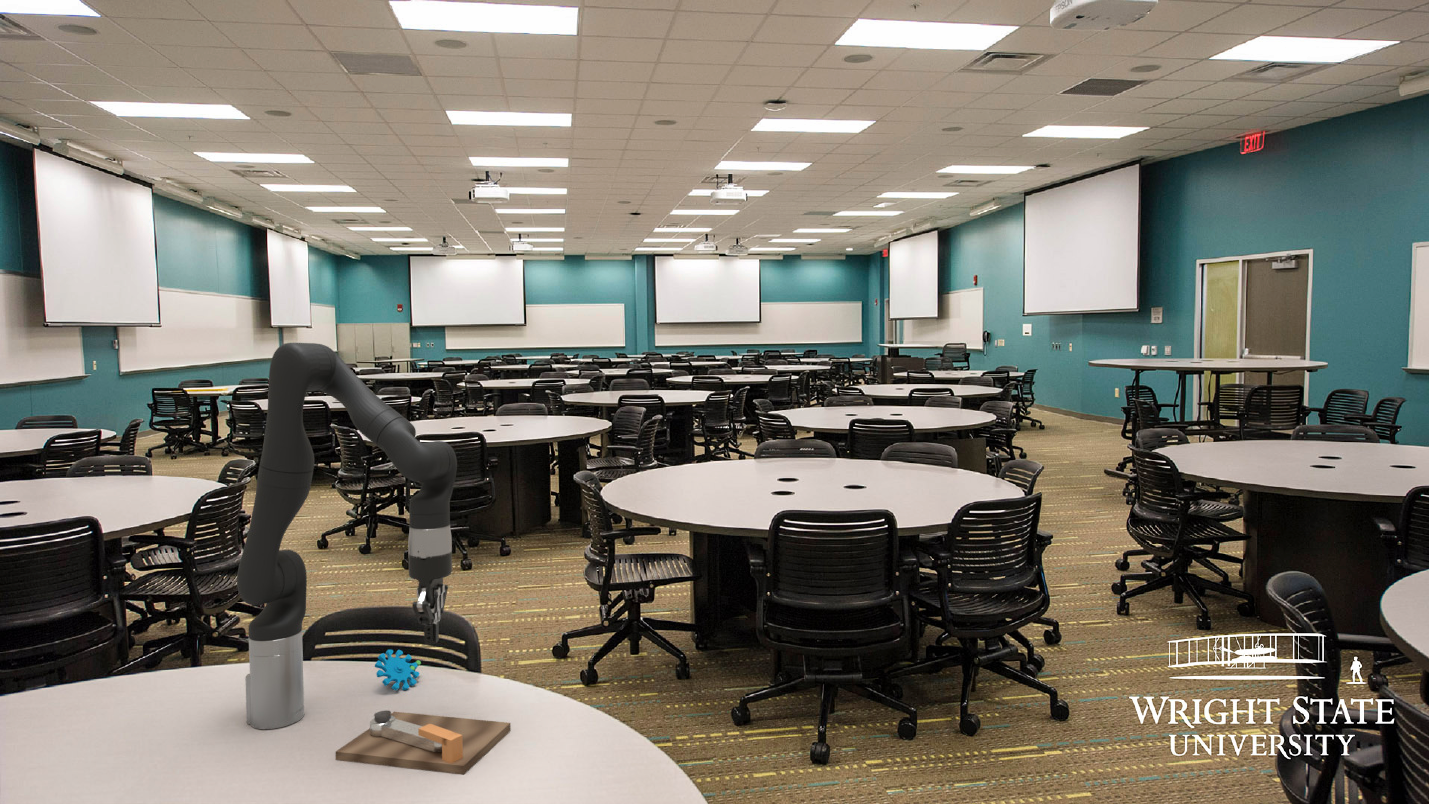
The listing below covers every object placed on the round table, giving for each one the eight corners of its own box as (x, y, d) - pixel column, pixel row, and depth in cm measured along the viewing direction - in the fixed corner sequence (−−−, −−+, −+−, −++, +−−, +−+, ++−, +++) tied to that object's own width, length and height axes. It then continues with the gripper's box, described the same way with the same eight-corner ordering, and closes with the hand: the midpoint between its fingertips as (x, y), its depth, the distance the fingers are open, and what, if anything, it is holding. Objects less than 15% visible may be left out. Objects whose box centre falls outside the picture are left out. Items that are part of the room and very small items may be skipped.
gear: (388, 691, 167) (371, 651, 171) (374, 707, 169) (357, 667, 173) (432, 681, 176) (414, 643, 181) (417, 696, 178) (400, 658, 183)
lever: (364, 733, 147) (364, 722, 147) (384, 724, 151) (384, 713, 151) (438, 755, 139) (438, 744, 138) (457, 744, 142) (457, 733, 142)
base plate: (335, 759, 141) (335, 732, 141) (394, 719, 157) (393, 694, 157) (463, 774, 135) (463, 745, 135) (510, 730, 152) (510, 704, 152)
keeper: (418, 750, 141) (418, 728, 141) (430, 745, 143) (429, 723, 143) (451, 763, 136) (451, 740, 136) (462, 757, 138) (462, 735, 138)
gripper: (422, 542, 153) (423, 631, 154) (396, 558, 140) (397, 656, 141) (461, 542, 153) (462, 631, 154) (439, 558, 140) (440, 655, 141)
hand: (431, 642), depth 147 cm, fingers closed
